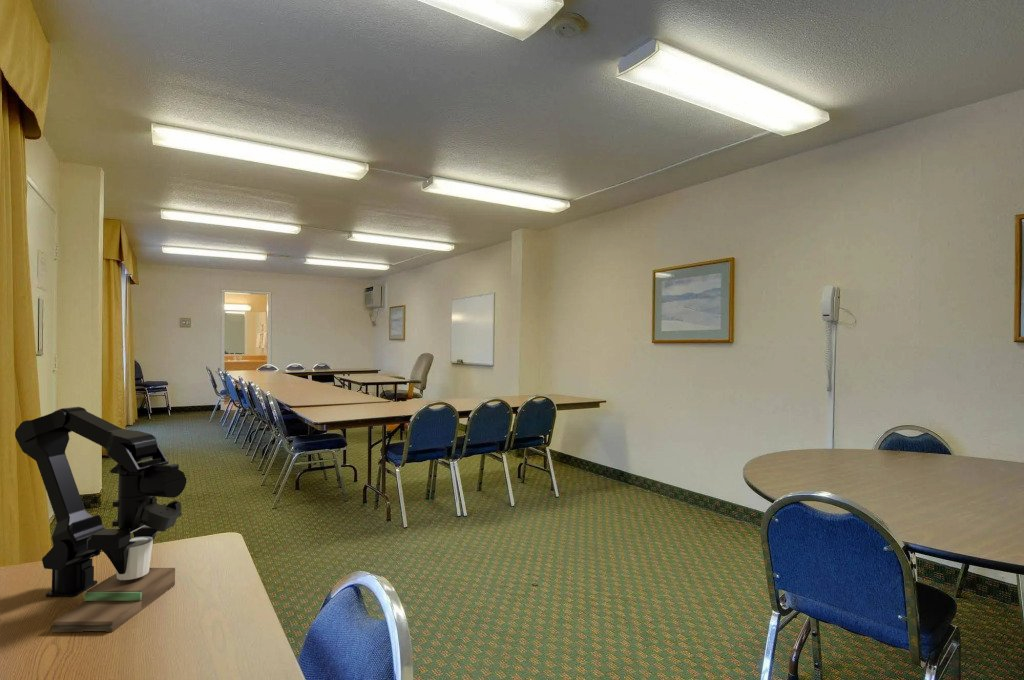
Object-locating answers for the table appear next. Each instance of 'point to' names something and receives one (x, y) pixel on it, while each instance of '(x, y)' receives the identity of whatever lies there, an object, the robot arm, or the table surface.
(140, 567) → the white tapered cup
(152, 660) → the table surface
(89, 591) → the stepped riser
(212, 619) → the table surface
